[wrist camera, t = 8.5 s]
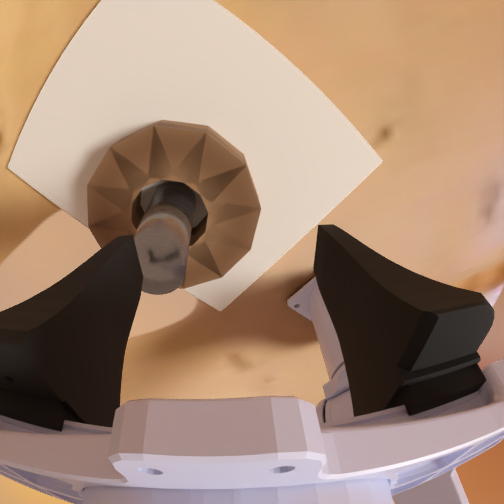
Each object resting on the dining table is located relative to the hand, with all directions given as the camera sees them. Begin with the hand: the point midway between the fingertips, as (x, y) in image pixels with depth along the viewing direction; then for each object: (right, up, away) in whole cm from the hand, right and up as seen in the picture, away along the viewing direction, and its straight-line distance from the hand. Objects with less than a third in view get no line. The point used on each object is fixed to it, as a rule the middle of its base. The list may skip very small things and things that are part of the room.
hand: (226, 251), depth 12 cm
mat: (-4, +7, +8) cm, 11 cm away
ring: (-4, +4, +9) cm, 10 cm away
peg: (-4, +4, +9) cm, 10 cm away
